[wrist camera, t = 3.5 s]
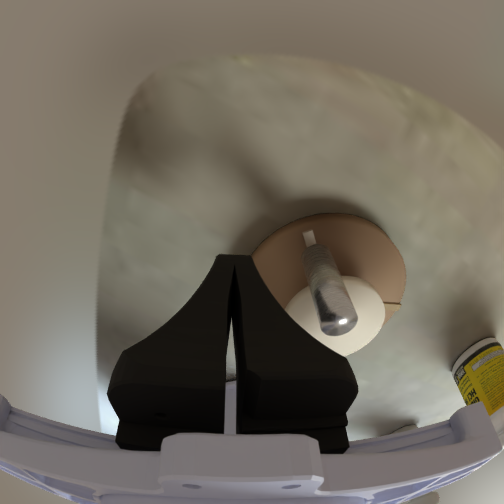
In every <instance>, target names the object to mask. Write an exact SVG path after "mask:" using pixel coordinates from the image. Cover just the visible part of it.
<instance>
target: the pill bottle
mask: <svg viewBox="0 0 504 504" xmlns="http://www.w3.org/2000/svg"><path fill="white" fill-rule="evenodd" d="M452 375H453V377H454V380H455V382H456V384H457V386H458V388H459V390H460V392H461V395H462V397H463V399H464V401H465V403H466V405H467V406H468V405H471V404H474V403H477V402H480V401H481V402H483V404H484V406H485V408H486V410H487V413H488V415H489V417H490V419H491V422H492V424H493V426H494V428H495V431H496V433H497V435H498V438H499V440H500V443H501V445H502V448H503V449H504V349H503V348H502V346H501V345H500V343H499V342H498V341H497V340H496V339H495V338H486V339H483V340H481V341H479V342H478V343H476V344H474V345H473V346H471V347H470V348H469V349H467V350H466V351H465V352H464V353H463V354H462V355H461V356H460V357H459V358H458V360H457V361H456V363H455V364H454V366H453V369H452Z"/></svg>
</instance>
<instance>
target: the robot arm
mask: <svg viewBox="0 0 504 504" xmlns="http://www.w3.org/2000/svg"><path fill="white" fill-rule="evenodd" d="M231 317H232V327H233V338H234V348H235V358H236V381H231V382H226V355H227V347H228V339H229V332H230V324H231ZM357 394H358V385H357V381H356V378H355V375H354V373H353V371H352V368H351V366H350V364H349V362H348V360H347V358H345V357H344V356H342V355H340V354H338V353H337V352H335V351H333V350H332V349H330V348H328V347H327V346H325V345H324V344H322V343H321V342H320V341H318V340H317V339H315V338H314V337H313V336H311V335H310V334H309V333H308V332H307V331H306V330H304V329H303V328H302V327H301V326H300V325H299V324H297V323H296V322H295V321H294V320H293V319H292V318H291V317H290V315H289V314H288V313H287V312H286V311H285V310H284V309H283V308H282V306H281V305H280V304H279V303H278V301H277V300H276V299H275V297H274V296H273V295H272V293H271V292H270V290H269V289H268V287H267V285H266V284H265V282H264V281H263V279H262V277H261V276H260V274H259V272H258V270H257V268H256V266H255V264H254V261H253V258H252V257H251V256H245V255H225V254H219V255H218V256H216V259H215V261H214V264H213V266H212V268H211V269H210V271H209V273H208V274H207V276H206V278H205V279H204V281H203V282H202V284H201V285H200V287H199V288H198V289H197V291H196V292H195V293H194V294H193V296H192V297H191V298H190V299H189V301H188V302H187V303H186V304H185V305H184V306H183V307H182V308H181V309H180V310H179V311H178V312H177V313H176V314H175V315H174V316H173V317H172V318H171V319H170V320H169V321H168V322H166V323H165V324H164V325H163V326H162V327H160V328H159V329H158V330H156V331H155V332H154V333H152V334H151V335H150V336H148V337H147V338H145V339H144V340H142V341H140V342H139V343H137V344H135V345H133V346H132V347H130V348H128V349H126V350H124V351H123V352H122V354H121V356H120V358H119V360H118V362H117V364H116V366H115V368H114V370H113V373H112V376H111V380H110V383H109V387H108V391H107V396H108V399H109V401H110V403H111V405H112V407H113V409H114V411H115V412H116V414H117V416H118V418H119V425H118V429H117V434H116V436H114V435H109V434H104V433H99V432H95V431H91V430H86V429H82V428H78V427H74V426H70V425H67V424H63V423H60V422H56V421H53V420H49V419H46V418H43V417H40V416H37V415H34V414H31V413H28V412H25V411H22V410H19V409H17V408H14V407H12V406H11V405H10V404H9V402H8V401H7V399H6V398H5V397H4V396H2V395H1V394H0V469H1V470H3V471H5V472H7V473H9V474H11V475H13V476H15V477H17V478H19V479H21V480H23V481H25V482H28V483H30V484H32V485H34V486H37V487H39V488H41V489H43V490H46V491H48V492H50V493H53V494H55V495H58V496H60V497H63V498H66V499H68V500H71V501H74V502H77V503H80V504H398V503H402V502H404V501H407V500H410V499H413V498H416V497H418V496H421V495H423V494H426V493H429V492H431V491H433V490H436V489H438V488H441V487H443V486H446V485H448V484H450V483H453V482H455V481H457V480H459V479H461V478H464V477H466V476H467V475H469V474H470V473H472V472H473V471H475V470H477V469H478V468H480V467H481V466H482V465H483V464H485V463H486V462H488V461H490V460H491V459H492V458H493V457H495V456H496V455H498V454H499V453H500V452H502V450H503V448H502V445H501V443H500V440H499V438H498V435H497V433H496V431H495V428H494V426H493V424H492V422H491V419H490V417H489V415H488V413H487V410H486V408H485V406H484V404H483V402H481V401H480V402H477V403H474V404H471V405H468V406H465V407H463V408H461V409H459V410H457V411H456V412H455V413H454V414H453V415H452V416H451V417H450V419H449V420H446V421H443V422H439V423H436V424H432V425H429V426H425V427H421V428H417V429H413V430H408V431H404V432H400V433H395V434H390V435H385V436H380V437H374V438H369V439H363V440H356V441H348V436H347V432H346V427H345V426H347V425H348V420H347V416H346V412H347V411H348V409H349V408H350V406H351V405H352V403H353V401H354V400H355V398H356V396H357Z"/></svg>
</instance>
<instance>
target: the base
mask: <svg viewBox="0 0 504 504" xmlns="http://www.w3.org/2000/svg"><path fill="white" fill-rule="evenodd" d="M313 244H322V245H325V246H326V247H328V249H329V250H330V252H331V254H332V257H333V259H334V261H335V263H336V266H337V268H338V270H339V273H340V275H341V276H353V277H358V278H361V279H363V280H365V281H367V282H369V283H370V284H372V285H373V286H374V288H375V289H376V290H377V292H378V294H379V296H380V298H381V300H382V301H383V304H384V307H385V318H384V322H383V325H384V324H385V323H386V322H387V321H388V320H389V319H390V317H391V316H392V315H393V314H394V312H395V311H398V310H399V308H400V307H401V304H399V303H400V301H401V299H402V296H403V293H404V290H405V284H406V270H405V264H404V261H403V258H402V256H401V254H400V252H399V250H398V249H397V248H396V246H395V245H394V244H393V242H392V241H391V240H390V238H389V237H388V236H387V235H386V233H385V232H384V231H383V230H381V229H380V228H379V227H378V226H377V225H375V224H373V223H372V222H370V221H368V220H366V219H363V218H361V217H358V216H354V215H350V214H342V213H325V214H318V215H312V216H309V217H305V218H301V219H299V220H296V221H294V222H291V223H289V224H287V225H286V226H284V227H282V228H280V229H278V230H277V231H276V232H274V233H273V234H271V235H270V236H269V237H268V238H267V239H265V240H264V241H263V242H262V243H261V244H260V245H259V246H258V248H257V249H256V250H255V251H254V252H253V254H252V255H251V257H252V258H253V261H254V264H255V266H256V268H257V270H258V272H259V274H260V276H261V277H262V279H263V281H264V282H265V284H266V285H267V287H268V289H269V290H270V292H271V293H272V295H273V296H274V297H275V299H276V300H277V301H278V303H279V304H280V305H281V306H282V308H283V309H284V310H285V308H286V307H287V305H288V303H289V302H290V301H291V299H292V298H293V297H294V296H295V295H296V294H297V293H298V292H300V291H301V290H302V289H304V288H305V287H307V286H309V285H308V281H307V278H306V274H305V271H304V268H303V264H302V261H301V256H302V253H303V251H304V250H305V249H306V248H307V247H309V246H311V245H313ZM383 325H382V326H383Z"/></svg>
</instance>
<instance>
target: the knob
mask: <svg viewBox="0 0 504 504" xmlns="http://www.w3.org/2000/svg"><path fill="white" fill-rule="evenodd" d="M301 261H302V264H303V268H304V271H305V274H306V278H307V281H308V285H309V286H307V287H305V288H304V289H302V290H301V291H300V292H298V293H297V294H296V295H295V296H294V297H293V298H292V299H291V301H290V302H289V303H288V305H287V307H286V308H285V311H286V312H287V313H288V314H289V315H290V317H291V318H292V319H293V320H294V321H295V322H296V323H297V324H299V325H300V326H301V327H302V328H303V329H304V330H306V331H307V332H308V333H309V334H310V335H311V336H313V337H314V338H315V339H317V340H318V341H320V342H321V343H322V344H324V345H325V346H327V347H328V348H330V349H332V350H333V351H335V352H337V353H338V354H340V355H342V356H346V355H349V354H351V353H353V352H356V351H357V350H359V349H361V348H362V347H364V346H365V345H366V344H368V343H369V342H370V341H371V340H372V339H373V338H374V337H375V336H376V335H377V333H378V332H379V330H380V329H381V327H382V325H383V322H384V318H385V307H384V304H383V301H382V300H381V298H380V296H379V294H378V292H377V290H376V289H375V288H374V286H373V285H372V284H370V283H369V282H367V281H365V280H363V279H361V278H358V277H353V276H341V275H340V273H339V270H338V268H337V266H336V263H335V261H334V259H333V257H332V254H331V252H330V250H329V249H328V247H326V246H325V245H322V244H313V245H311V246H309V247H307V248H306V249H305V250H304V251H303V253H302V256H301Z"/></svg>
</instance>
